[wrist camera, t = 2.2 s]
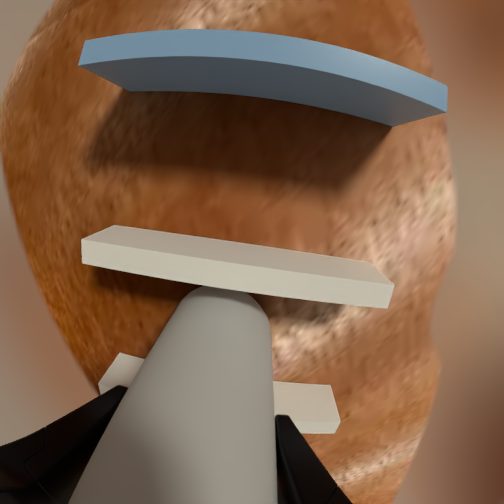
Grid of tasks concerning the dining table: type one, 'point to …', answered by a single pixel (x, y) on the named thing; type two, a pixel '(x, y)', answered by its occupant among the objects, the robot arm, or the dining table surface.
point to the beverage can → (194, 413)
